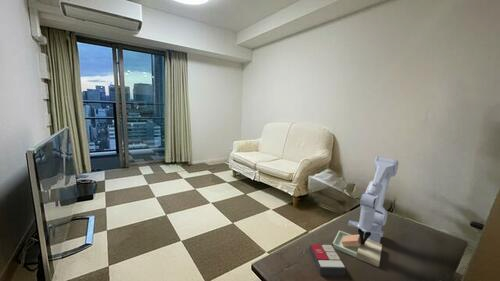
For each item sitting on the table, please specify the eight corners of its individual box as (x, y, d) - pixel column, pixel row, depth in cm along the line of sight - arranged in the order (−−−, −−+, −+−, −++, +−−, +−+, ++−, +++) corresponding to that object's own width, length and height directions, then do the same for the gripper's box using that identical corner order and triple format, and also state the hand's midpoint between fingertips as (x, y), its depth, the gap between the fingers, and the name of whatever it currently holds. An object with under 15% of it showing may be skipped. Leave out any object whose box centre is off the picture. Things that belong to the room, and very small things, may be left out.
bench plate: (360, 242, 107) (361, 237, 106) (381, 249, 102) (382, 244, 101) (356, 257, 96) (357, 252, 95) (378, 267, 91) (379, 261, 90)
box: (338, 233, 113) (339, 230, 113) (360, 242, 107) (361, 238, 106) (331, 247, 102) (332, 243, 102) (356, 257, 96) (356, 253, 95)
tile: (346, 240, 107) (344, 235, 107) (362, 239, 102) (359, 234, 103) (343, 246, 102) (341, 241, 103) (360, 245, 98) (357, 240, 98)
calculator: (331, 243, 100) (346, 266, 85) (331, 251, 100) (345, 276, 86) (309, 243, 100) (320, 266, 85) (308, 251, 100) (319, 275, 85)
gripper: (348, 216, 98) (345, 241, 101) (384, 227, 90) (379, 255, 92) (351, 210, 104) (347, 234, 106) (385, 220, 96) (380, 246, 98)
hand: (362, 243), depth 100 cm, fingers closed
